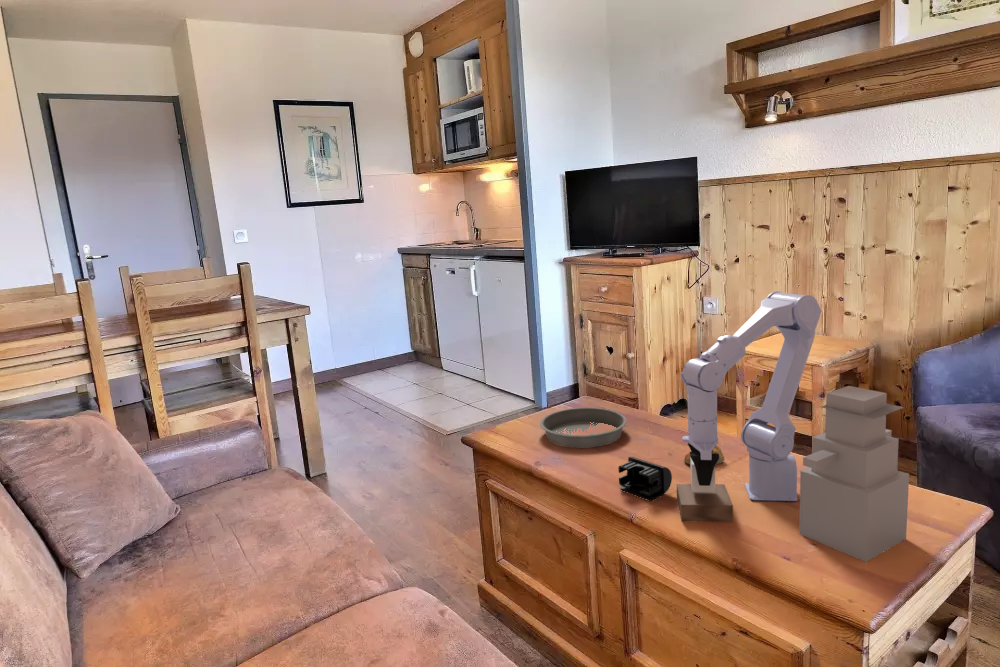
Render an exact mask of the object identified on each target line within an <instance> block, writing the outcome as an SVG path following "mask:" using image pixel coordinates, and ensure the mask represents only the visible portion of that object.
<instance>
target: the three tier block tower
mask: <svg viewBox="0 0 1000 667" xmlns="http://www.w3.org/2000/svg"><path fill="white" fill-rule="evenodd" d="M887 396H888V394H887V392H882V391H878V390H872V389H868V388H862V387H857V386H853V385H847V386H844V387H841V388H838V389H835V390H832V391H829V392H827V393H826V398H825V399H826V400H825V405H822V406H821V408H823V409H825V414H821V415H822V416H823V417H825V428H824V429H825V431H824V432H823V433H821V434H818V435H815V436H812V441H811V443H812V445H811V446H812V448H811V449H812V450H811V454H808V455H806V456H803V457H802V466H805V468H804V469H802V470H800V471H799V472H800V474H799V476H800V477H799V478H800V479H799V480H800V482H799V531H798V532H799V533H798V534H799V535H801V536H802V537H806V538H808V539H811V540H813V541H815V542H818V543H820V544H822V545H825V546H827V547H829V548H832V549H833V550H834V549H835V550H837V551H839V552H841V553H844V554H845V555H849V556H850V557H853V558H855V559H858V560H860V561H862V562H864V563H868V562H869V561H871V560H873V559H874V558H876V557H878V556H879V554H880V555H881V554H883V553H884V552H883V551H885V550H886V551H888V550H890V549H891V547H892V546H893V547H895V546H897V545H898V544H897V543H899V542H900V543H902V542H904V541H905V540H904V539H906V540H907V527H908V525H907V524H908V506H909V487H910V486H909V485H910V484H909V483H910V473H908V472H905V471H900V470H898V463H899V462H898V461H899V460H898V459H899V440H900V439H899V438H896V437H893V436H892V434H893V433H892V430H891V429H887V428H886V427H887V415H888V414H892V413H893V412H894V413H895V412H896V411H899V410H901V409H904V408H905V407H903V406H899V405H894V404H890V403H887ZM806 467H807V468H806ZM903 540H904V541H903ZM901 541H902V542H901ZM900 543H899V544H900ZM896 544H897V545H896ZM894 545H895V546H894ZM893 547H892V548H893ZM889 548H890V549H889ZM887 549H888V550H887ZM886 551H885V552H886ZM882 552H883V553H882ZM877 555H878V556H877ZM872 558H873V559H872Z"/></svg>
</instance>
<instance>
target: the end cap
mask: <svg viewBox="0 0 1000 667" xmlns="http://www.w3.org/2000/svg"><path fill="white" fill-rule="evenodd" d="M627 459H628V460H627V462H626V463H623V464H621V465H619V466H618V473H619V474H621V473H623V472H625V471H626V474H624V475H622V476H619V477H618V484H619V485H620V487H619V489H620V491H621V490H622V491H621V492H623V491H625V492H624V493H626V492H628V493H627V494H629V493H630V495H631V494H633V495H632V496H634V495H636V496H635V497H637V496H638V497H637V498H639V497H641V498H640V499H642V498H644V499H643V500H645V499H647V500H649V502H654V501H655V499H656V500H657V499H659V498H662V497H663V496H664V495H665V494H666V493H667V492H668V490H669V489H670V487H671V485H672V481H673V476H672V475H673V474H672V472H671V470H670V469H669V468H668V467H665V466H663V465H661V464H660V465H659V464H657V463H653V462H650V461H647V460H645V459H644V460H643V459H641V458H638V457H635V456H628V458H627ZM647 500H646V501H647ZM653 500H654V501H653Z"/></svg>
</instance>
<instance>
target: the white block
mask: <svg viewBox="0 0 1000 667" xmlns="http://www.w3.org/2000/svg"><path fill="white" fill-rule="evenodd" d="M689 465H690V484H691V487H692V492H715V484H716V466H715V467H714V470H713V474H712V479H711V483H710V486H700V485H699V483H698V478H697V473H696V468H695V465H694V463H693V461H692V459H691V457H690V464H689Z"/></svg>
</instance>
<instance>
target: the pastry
mask: <svg viewBox="0 0 1000 667" xmlns="http://www.w3.org/2000/svg"><path fill="white" fill-rule="evenodd" d="M712 453H714V454H719V460H718V461H717V463H716V465H720V464H723V463H724V462H725V460H726V459H725V456H724V453H723V452H722V449H721V448H720V447H719V446H718V444H717V445H716V446H715V448H714V449H713V452H712ZM683 461H684V463H685V464H688V465H690V452H688V453H686V454H685V456H684V460H683ZM722 462H723V463H722ZM719 463H720V464H719Z"/></svg>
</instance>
